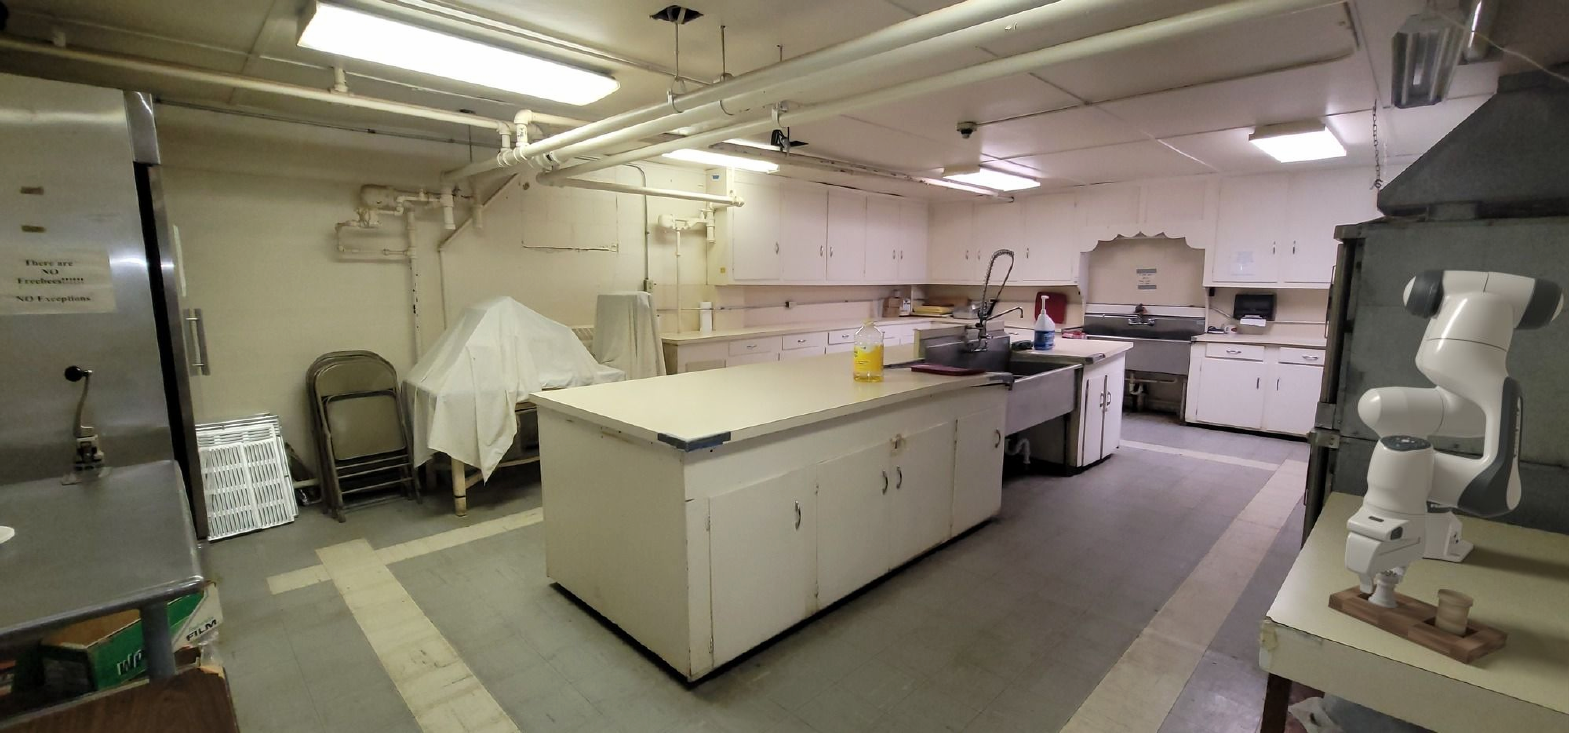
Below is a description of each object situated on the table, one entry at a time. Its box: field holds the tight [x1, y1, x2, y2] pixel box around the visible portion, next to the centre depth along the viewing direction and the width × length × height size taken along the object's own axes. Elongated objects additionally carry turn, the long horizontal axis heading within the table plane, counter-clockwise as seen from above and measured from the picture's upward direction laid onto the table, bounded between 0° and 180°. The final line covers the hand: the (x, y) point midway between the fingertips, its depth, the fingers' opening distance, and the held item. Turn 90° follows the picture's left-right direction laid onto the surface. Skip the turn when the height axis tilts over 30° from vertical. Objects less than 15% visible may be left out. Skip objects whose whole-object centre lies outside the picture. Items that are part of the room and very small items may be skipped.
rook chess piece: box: [1368, 569, 1399, 610], centre depth 122 cm, size 4×4×8 cm
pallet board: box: [1327, 583, 1509, 665], centre depth 118 cm, size 14×20×9 cm
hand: (1380, 587), depth 123 cm, fingers open, 8 cm apart
